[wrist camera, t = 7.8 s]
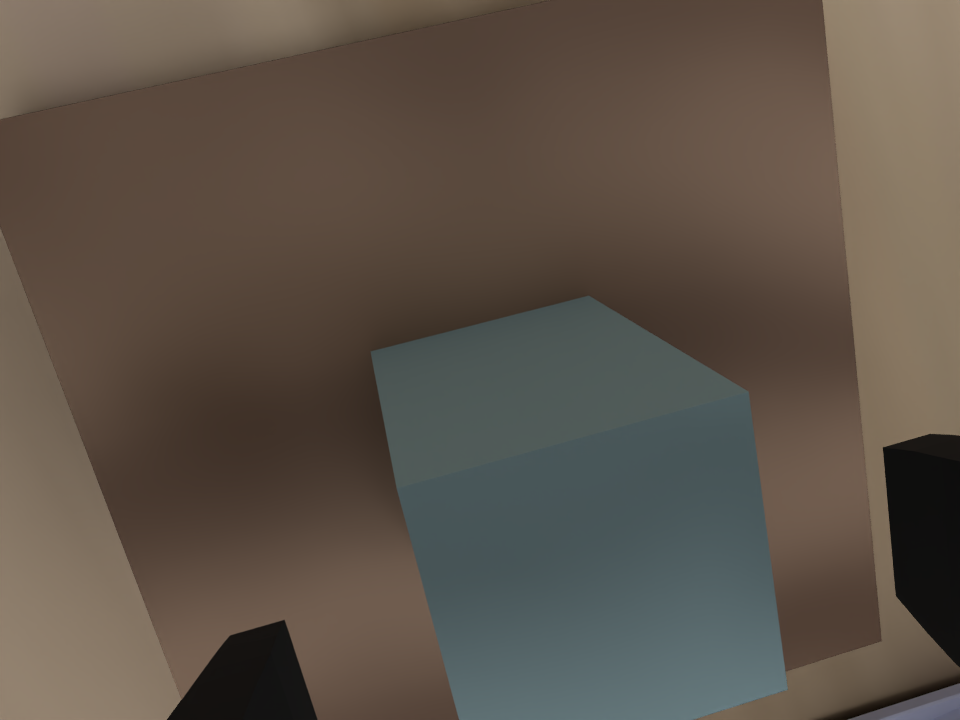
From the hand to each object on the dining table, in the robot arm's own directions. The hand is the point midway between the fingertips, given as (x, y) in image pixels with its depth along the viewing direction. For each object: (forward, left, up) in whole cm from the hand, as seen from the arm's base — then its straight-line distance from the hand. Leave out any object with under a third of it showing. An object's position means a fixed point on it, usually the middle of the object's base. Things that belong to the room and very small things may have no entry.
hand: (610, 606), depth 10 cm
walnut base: (0, 0, -9) cm, 9 cm away
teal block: (0, 0, -6) cm, 6 cm away
